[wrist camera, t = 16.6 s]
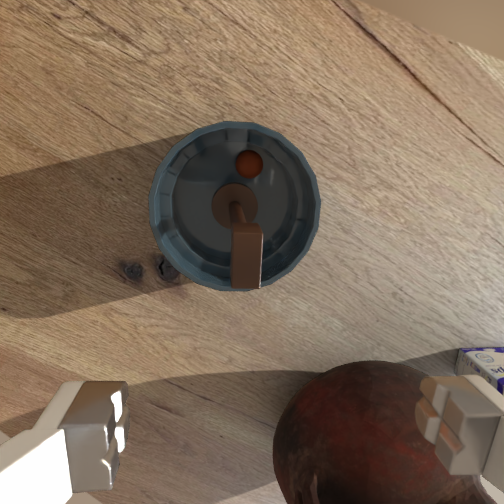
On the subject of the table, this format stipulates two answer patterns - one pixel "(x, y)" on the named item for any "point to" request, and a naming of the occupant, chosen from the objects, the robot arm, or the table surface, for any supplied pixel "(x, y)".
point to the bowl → (216, 175)
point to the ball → (249, 164)
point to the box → (482, 365)
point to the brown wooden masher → (240, 233)
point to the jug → (363, 443)
